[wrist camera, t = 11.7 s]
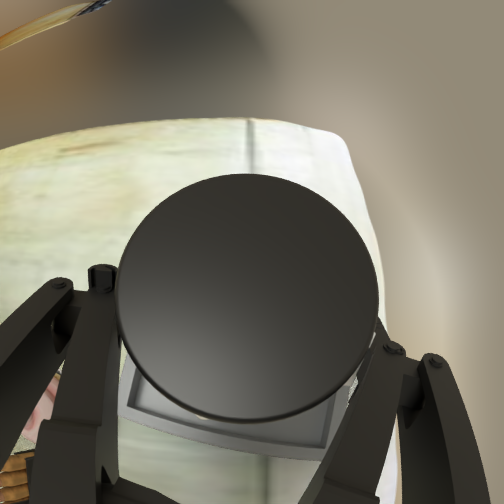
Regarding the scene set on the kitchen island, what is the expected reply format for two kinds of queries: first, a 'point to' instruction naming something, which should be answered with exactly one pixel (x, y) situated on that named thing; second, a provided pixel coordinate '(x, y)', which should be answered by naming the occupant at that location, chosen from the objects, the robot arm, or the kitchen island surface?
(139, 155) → the kitchen island surface
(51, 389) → the cupcake
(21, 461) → the ammunition clip
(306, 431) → the tray
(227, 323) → the jar
